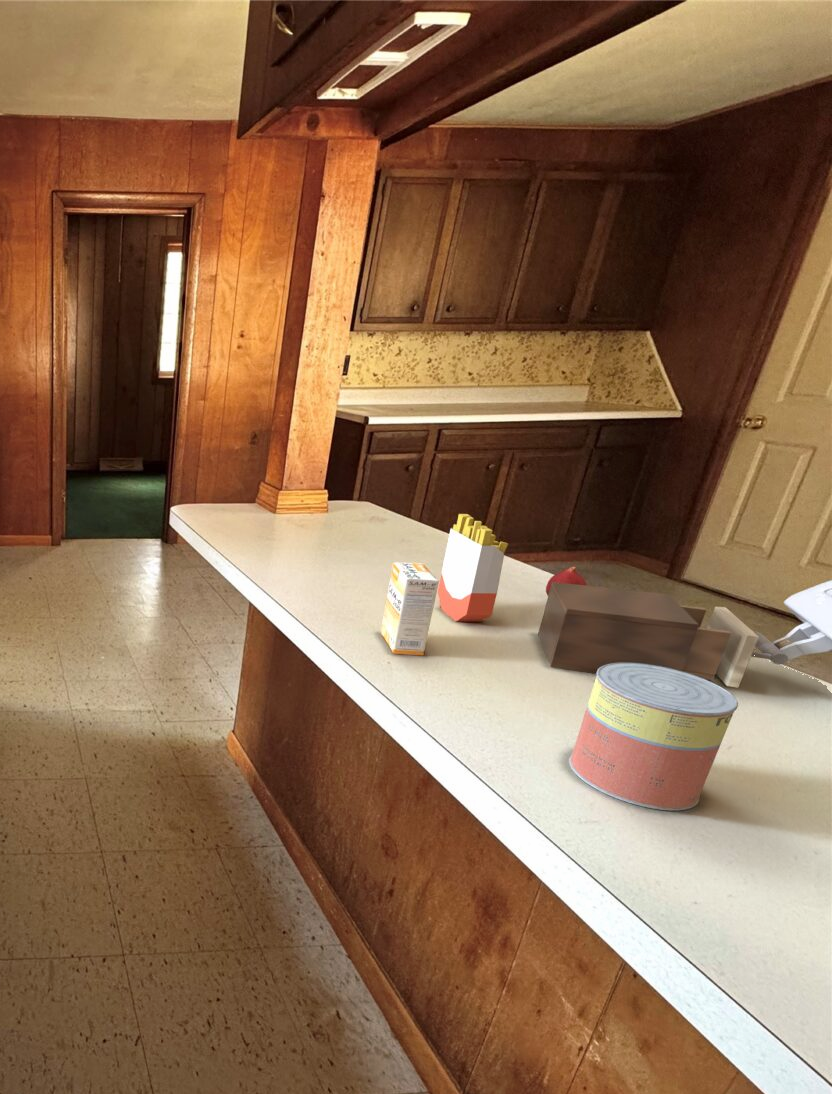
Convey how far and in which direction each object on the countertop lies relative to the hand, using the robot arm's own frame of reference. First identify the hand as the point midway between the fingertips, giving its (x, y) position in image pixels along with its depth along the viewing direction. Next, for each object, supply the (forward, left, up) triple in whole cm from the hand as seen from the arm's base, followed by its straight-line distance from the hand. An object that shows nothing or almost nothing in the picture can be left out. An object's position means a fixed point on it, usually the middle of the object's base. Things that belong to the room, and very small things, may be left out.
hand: (778, 651), depth 93 cm
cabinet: (+16, +10, -5) cm, 19 cm away
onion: (+29, -8, -5) cm, 30 cm away
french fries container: (+37, +10, -5) cm, 38 cm away
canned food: (+1, +42, -5) cm, 42 cm away
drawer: (+8, +5, -4) cm, 10 cm away
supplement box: (+36, +30, -5) cm, 47 cm away
